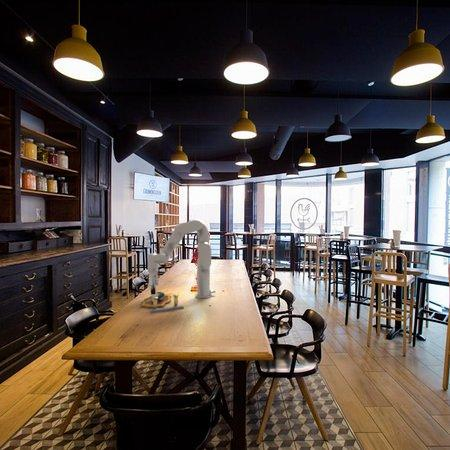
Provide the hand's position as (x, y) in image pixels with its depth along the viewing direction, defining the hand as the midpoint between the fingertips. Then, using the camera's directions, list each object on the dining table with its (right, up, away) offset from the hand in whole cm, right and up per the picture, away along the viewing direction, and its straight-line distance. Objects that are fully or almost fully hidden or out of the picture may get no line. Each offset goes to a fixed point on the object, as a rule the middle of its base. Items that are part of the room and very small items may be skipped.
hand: (153, 294), depth 233 cm
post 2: (+21, -4, -24) cm, 32 cm away
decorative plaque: (+5, -4, -10) cm, 12 cm away
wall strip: (+16, -4, -30) cm, 34 cm away
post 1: (+9, -4, -31) cm, 32 cm away
